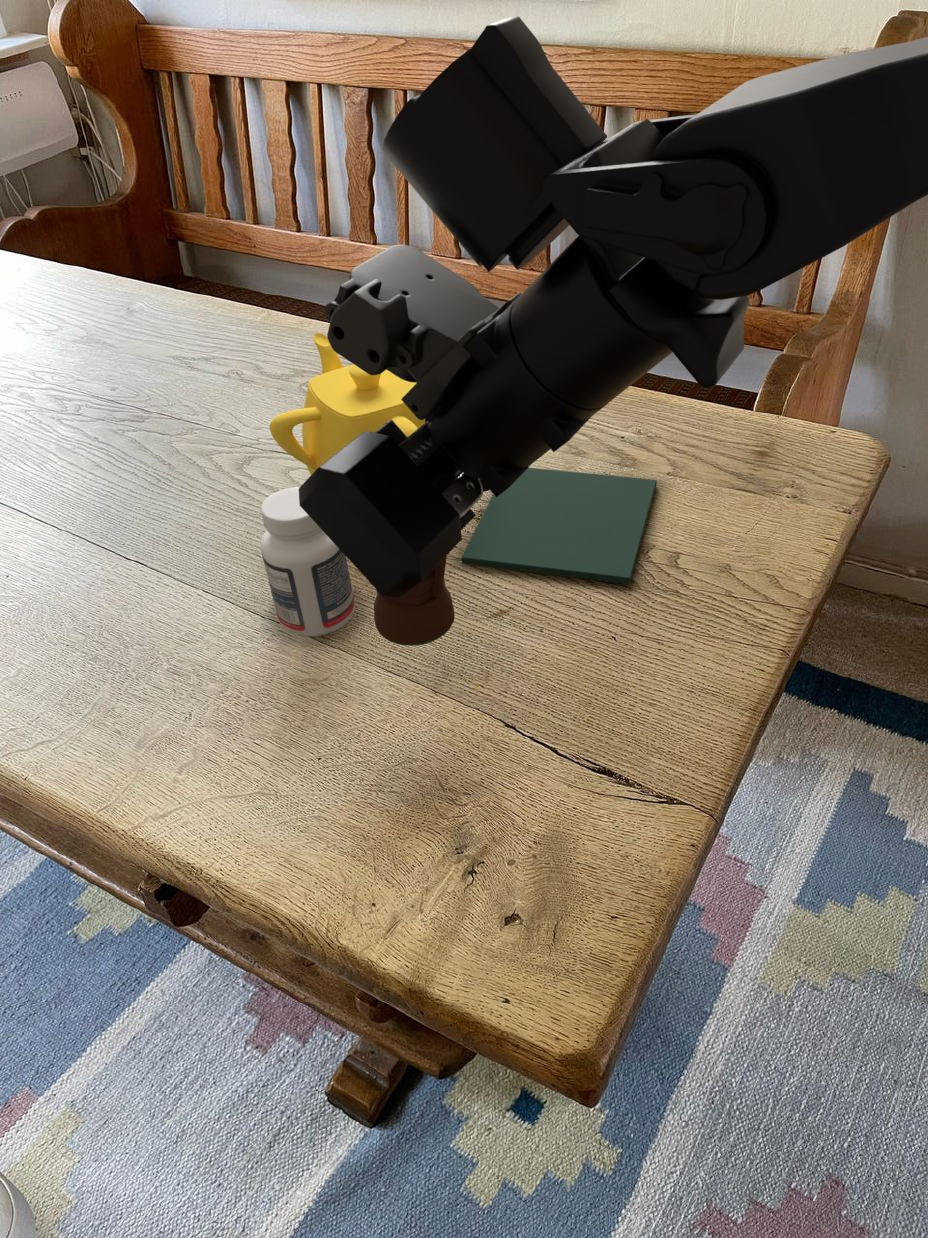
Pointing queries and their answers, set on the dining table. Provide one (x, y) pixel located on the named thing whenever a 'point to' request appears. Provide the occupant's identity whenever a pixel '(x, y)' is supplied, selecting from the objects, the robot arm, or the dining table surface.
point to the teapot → (342, 409)
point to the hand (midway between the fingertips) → (379, 516)
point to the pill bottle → (304, 569)
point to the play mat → (565, 525)
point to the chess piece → (416, 611)
